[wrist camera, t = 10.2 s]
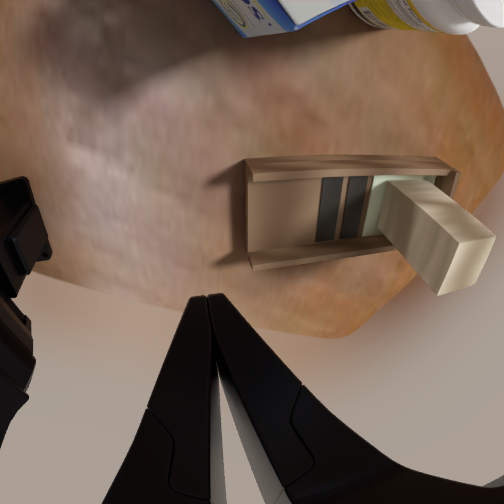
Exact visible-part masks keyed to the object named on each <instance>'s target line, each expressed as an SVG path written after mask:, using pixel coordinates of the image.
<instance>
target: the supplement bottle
mask: <svg viewBox="0 0 504 504" xmlns="http://www.w3.org/2000/svg"><path fill="white" fill-rule="evenodd" d="M348 5H349V6H350V8H351V9H352V11H353V12H354V13H355V14H356V15H357V16H358V17H359V18H360V19H361V20H363V21H364V22H366V23H367V24H369V25H371V26H374V27H377V28H382V29H397V30H415V31H428V32H437V33H445V34H456V35H463V34H467V33H470V32H473V31H474V30H476V29H477V28H478V27H479V26H480V25H482V26H489V27H495V28H504V0H356V1H354V2H352V3H349V4H348Z"/></svg>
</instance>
